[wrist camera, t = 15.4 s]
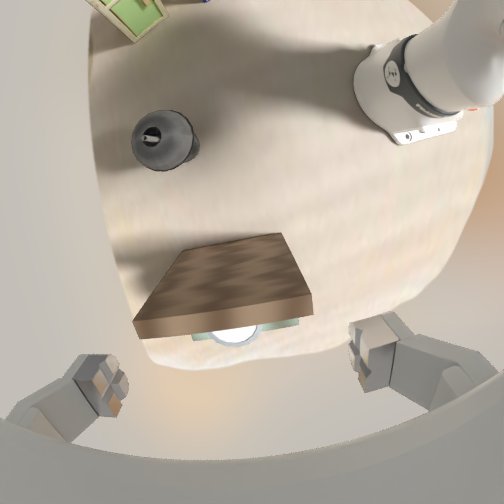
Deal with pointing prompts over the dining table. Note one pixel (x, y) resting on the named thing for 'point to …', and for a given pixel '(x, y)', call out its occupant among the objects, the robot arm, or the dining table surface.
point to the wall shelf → (227, 291)
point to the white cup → (236, 335)
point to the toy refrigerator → (132, 15)
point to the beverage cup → (164, 140)
